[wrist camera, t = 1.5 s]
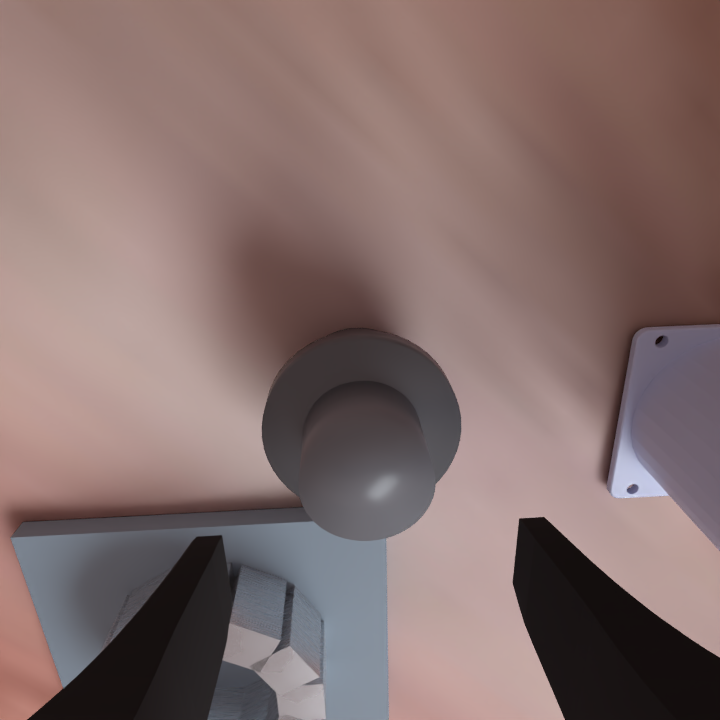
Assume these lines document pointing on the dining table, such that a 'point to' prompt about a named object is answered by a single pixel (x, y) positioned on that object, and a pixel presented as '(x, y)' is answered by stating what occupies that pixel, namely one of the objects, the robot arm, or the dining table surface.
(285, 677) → the segmented white ring
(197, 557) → the robot arm
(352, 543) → the mount plate
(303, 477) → the grey rounded knob
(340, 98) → the dining table surface
